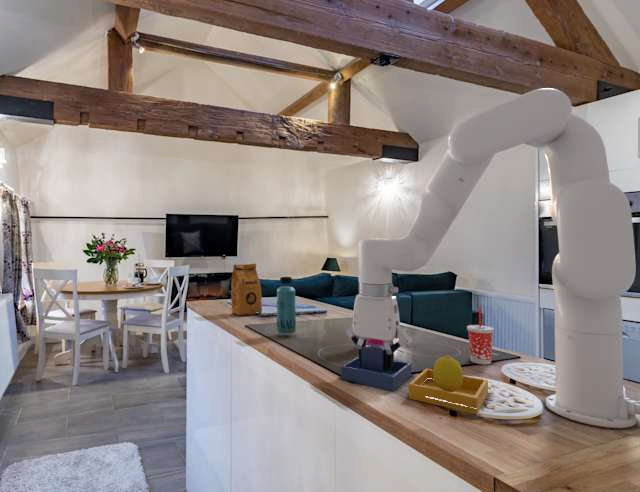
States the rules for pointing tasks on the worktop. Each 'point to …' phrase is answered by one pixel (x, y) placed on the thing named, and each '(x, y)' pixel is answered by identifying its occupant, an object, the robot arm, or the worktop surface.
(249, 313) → the coffee package
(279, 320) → the beverage bottle
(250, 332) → the worktop surface
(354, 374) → the blue tray
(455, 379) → the lemon
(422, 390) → the mustard tray
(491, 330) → the beverage cup
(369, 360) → the navy block
